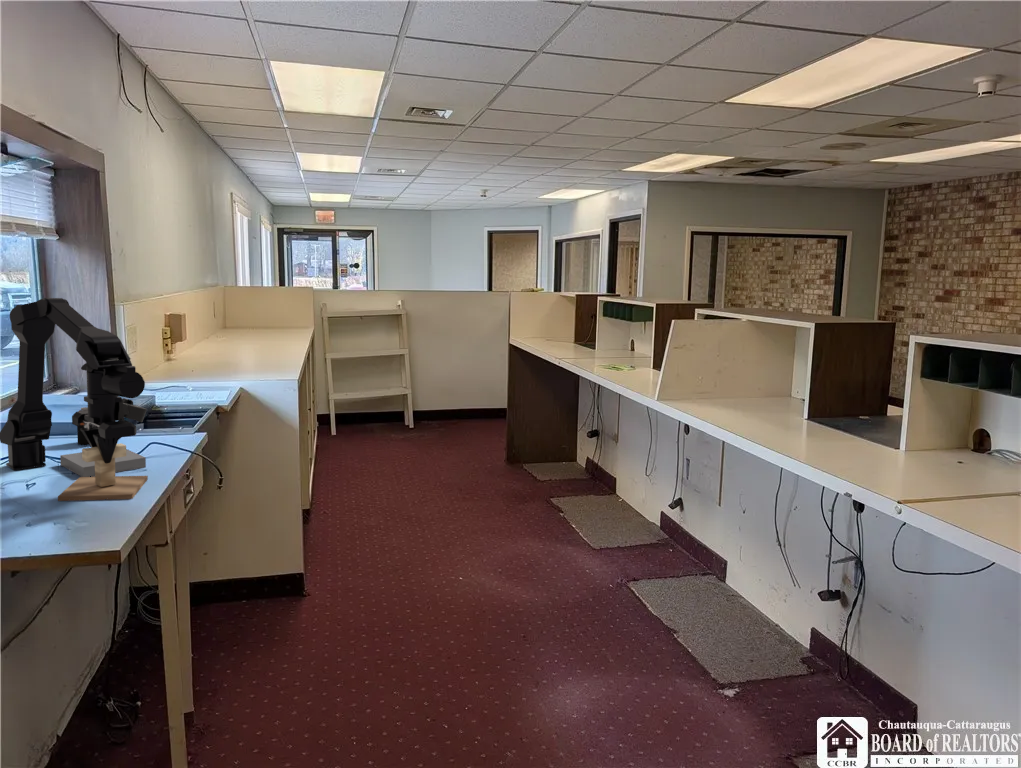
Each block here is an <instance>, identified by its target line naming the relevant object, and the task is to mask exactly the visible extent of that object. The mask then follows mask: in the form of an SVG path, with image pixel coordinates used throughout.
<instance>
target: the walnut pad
mask: <svg viewBox="0 0 1021 768" xmlns="http://www.w3.org/2000/svg"><path fill="white" fill-rule="evenodd" d="M115 479H116V484H114V485H109V486H104V487H100V486H98V485H96V484H95V476H91V477H81V476H79V477H78V478H76V480H74V481H73V482H72V483H71V484H70V485H69V486H68V487H66V489H64V490H63V491H62V492H61V493H60V494H59V495H57V501H58V502H61V501H62V502H64V501H67V502H68V501H70V502H71V501H100V500H105V499H106V500H133V499H134V498H135V496H136V495H137V494H138V493H139V492H140V490H141V488H142V487H143V486H144V485H145V484H146V482H148V479H149V478H148V475H118V476H117V475H115Z"/></svg>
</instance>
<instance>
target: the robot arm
mask: <svg viewBox="0 0 1021 768" xmlns="http://www.w3.org/2000/svg"><path fill="white" fill-rule="evenodd" d="M9 320H10V323H11V324H10V326H11V331H12V333H13V334H14V335H15V337H16V338H17V339H18V341H19V350H18V351H19V353H18V375H17V377H18V378H17V379H18V380H17V397H16V398H17V399H16V401H15V402H14V403H13V405H12V406H11V408H10V409H9V410H8V412H7V413H8V414H7V420H6V422H5V424H4V425H3V427H2V428H1V430H0V443H1V444H4V445H7V454H8V462H6V463H5V465H6V466H7V467H8V468H10V469H12V470H13V471H20V470H22V471H23V470H28V469H34V468H40V467H41V468H42V467H46V466H47V464H46V463H45V462H46V445H44V444H43V441H45V440H50V435H51V429H52V427H53V421H52V416H53V412H52V410H51V409H49V408H48V407H47V406H46V404H45V403H44V402H43V401H44V400H43V399H44V382H45V381H44V378H45V377H44V376H45V356H46V343H47V342H48V341H49V339H51V337H52V336H53V335H54V333H55V328H56V326H57V327H58V328H59V329H61V331H62V332H64V333H65V334H66V335H67V336H68V337H69V338H71V340H72V341H74V343H76V347H75V350H76V352H77V353H78V354H79V355H80V357H81V358H82V359H83V360H84V362H85V363H84V364H83V365H82V366H80V369H81V371H86V395H87V396H83V401H84V402H86V403H87V407H88V411H79V410H78V411H76V412H75V413H73V415H71V423H72V424H71V425H74V426H76V427H77V426H80V424H81V423H84V428H81V429H80V430H81V431H82V433H83V434H84V436H85V438H86V439H87V441H88V443H89V444H90V445H89V446H90V448H91V447H98V449H99V451H100V454H101V456H102V458H103V460H104V463H110V462H111V460H112V456H113V453H114V450H115V447H116V444H118V442H119V440H121V438H125V437H127V438H128V437H132V436H133V437H134V436H136V435H137V426H136V425H135V424H134V423H133V422H131V421H128V420H129V419H130V420H134V421H137V422H138V423H143V421H144V419H145V416H146V413H147V408H144V407H142V406H139V405H135V404H134V401H133V400H132V399H135V398H138V397H139V396H140V395H142V393H143V392H144V389H145V385H146V382H145V379H144V377H143V375H141V373H139V372H137V371H136V369H137V368H136V366H135V365H133V363H132V361H131V359H132V358H131V357H130V355H129V354H128V352H127V351H126V349H125V346H124V344H123V342H122V341H121V339H120V338H119V336H117V335H116V334H114V333H113V332H111V331H109V330H106V329H102V328H99V327H96V326H94V325H93V324H92V323H91V322H89V321H88V320H87V319H86V318H85V317H84V316H83V315H81V314H80V312H78V311H77V310H76V309H74V308H73V307H72V306H71V305H70V303H69V301H68V300H67V299H65V298H63V297H44V298H40V299H39V300H36V301H33V302H29V303H24V304H17V305H15V306H14V308H11V309H10V313H9ZM126 419H128V420H126Z"/></svg>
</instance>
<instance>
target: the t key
mask: <svg viewBox="0 0 1021 768" xmlns="http://www.w3.org/2000/svg"><path fill="white" fill-rule="evenodd" d="M126 449H127V445H126V444H124V443H117V444H116V447H115V450H114V453H113V456H112V460H111V462H110V463H104V460H103V458H102V456H101V454H100V451H99V449H98V447H91V446H90V447H86V448H81V452H82V460H84V461H86V462H92V461H95V476H94V477H95V484H96V485H98V486H100V487H104V486H109V485H114V484H116V479H115V476H116V472H115V458H118V457H125V456H126Z"/></svg>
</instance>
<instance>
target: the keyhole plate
mask: <svg viewBox="0 0 1021 768" xmlns="http://www.w3.org/2000/svg"><path fill="white" fill-rule="evenodd" d="M59 456H60V466H61V467H63V468H65V469H67V470H69V471H70V472H73V473H74V474H75V475H78V476H79V477H90V476H91V477H95V461H92V462H86V461H84V460H82V451H81V452H75V453H68V454H67V453H66V454H60V455H59ZM146 459H147V458H146V457H145V456H143V455H140V454H139V453H136V452H134V451H132V450H130V449H127V448H126V456H125V457H118V458H115V473H119V472H125V471H131V470H137V469H143V468H146V466H147V464H146V463H147V461H146Z"/></svg>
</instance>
